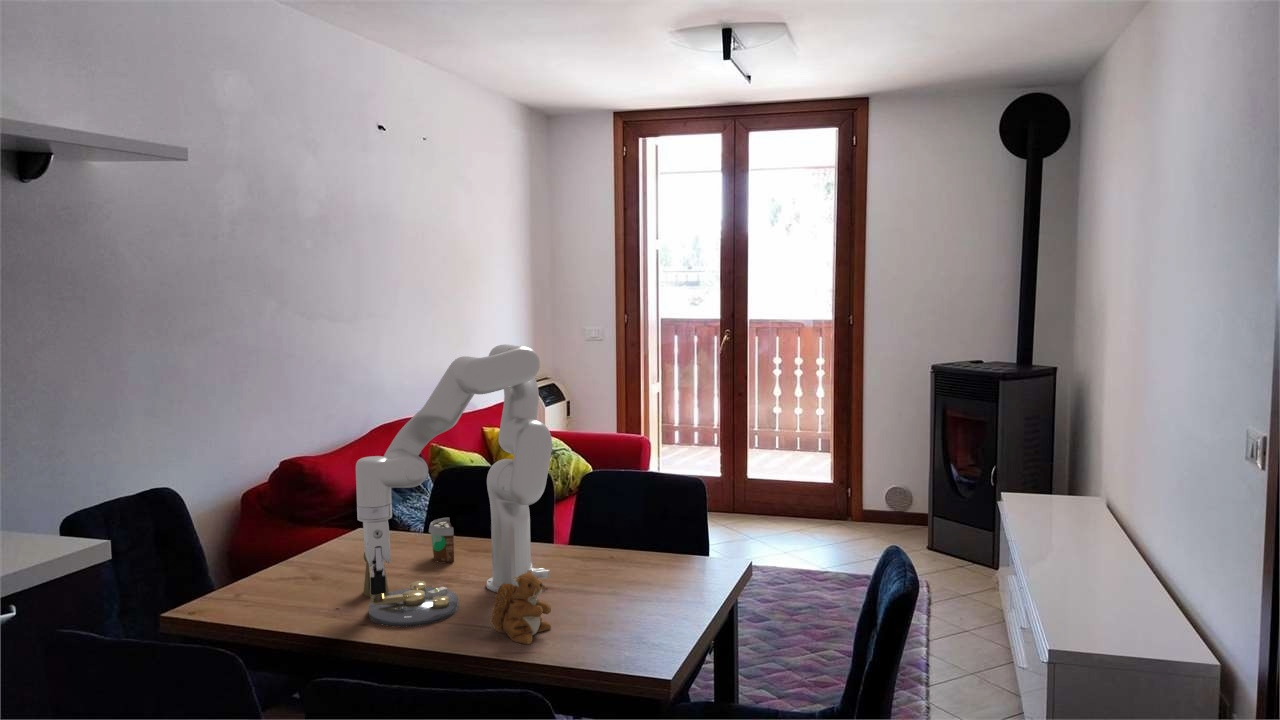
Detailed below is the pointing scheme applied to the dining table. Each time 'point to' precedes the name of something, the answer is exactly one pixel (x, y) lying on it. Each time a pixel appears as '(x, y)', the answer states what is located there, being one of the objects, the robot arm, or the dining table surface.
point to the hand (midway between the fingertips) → (377, 590)
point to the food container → (442, 540)
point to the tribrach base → (416, 607)
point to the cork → (366, 583)
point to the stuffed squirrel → (520, 608)
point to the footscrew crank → (399, 597)
